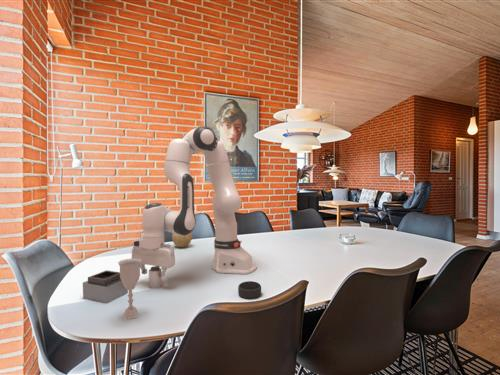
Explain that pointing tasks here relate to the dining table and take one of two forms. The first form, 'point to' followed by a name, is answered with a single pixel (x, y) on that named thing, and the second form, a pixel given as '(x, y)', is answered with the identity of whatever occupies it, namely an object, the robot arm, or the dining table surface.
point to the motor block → (104, 287)
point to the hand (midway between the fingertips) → (153, 275)
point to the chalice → (130, 282)
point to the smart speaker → (249, 290)
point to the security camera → (155, 277)
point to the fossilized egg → (181, 239)
